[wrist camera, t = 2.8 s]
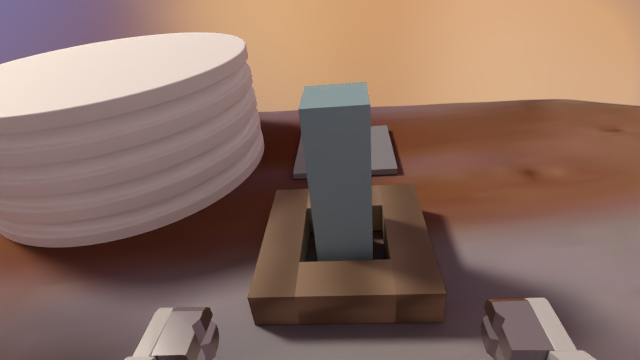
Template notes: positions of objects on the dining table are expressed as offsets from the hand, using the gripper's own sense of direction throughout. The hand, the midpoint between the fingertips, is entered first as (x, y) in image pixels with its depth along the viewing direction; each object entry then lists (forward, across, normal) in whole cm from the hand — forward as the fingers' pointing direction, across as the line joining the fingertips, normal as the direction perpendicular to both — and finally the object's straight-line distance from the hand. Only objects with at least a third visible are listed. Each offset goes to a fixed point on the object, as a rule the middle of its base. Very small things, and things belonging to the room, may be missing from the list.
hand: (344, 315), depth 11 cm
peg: (+12, 0, +9) cm, 16 cm away
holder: (+12, 0, +9) cm, 16 cm away
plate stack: (+28, +24, +9) cm, 38 cm away
